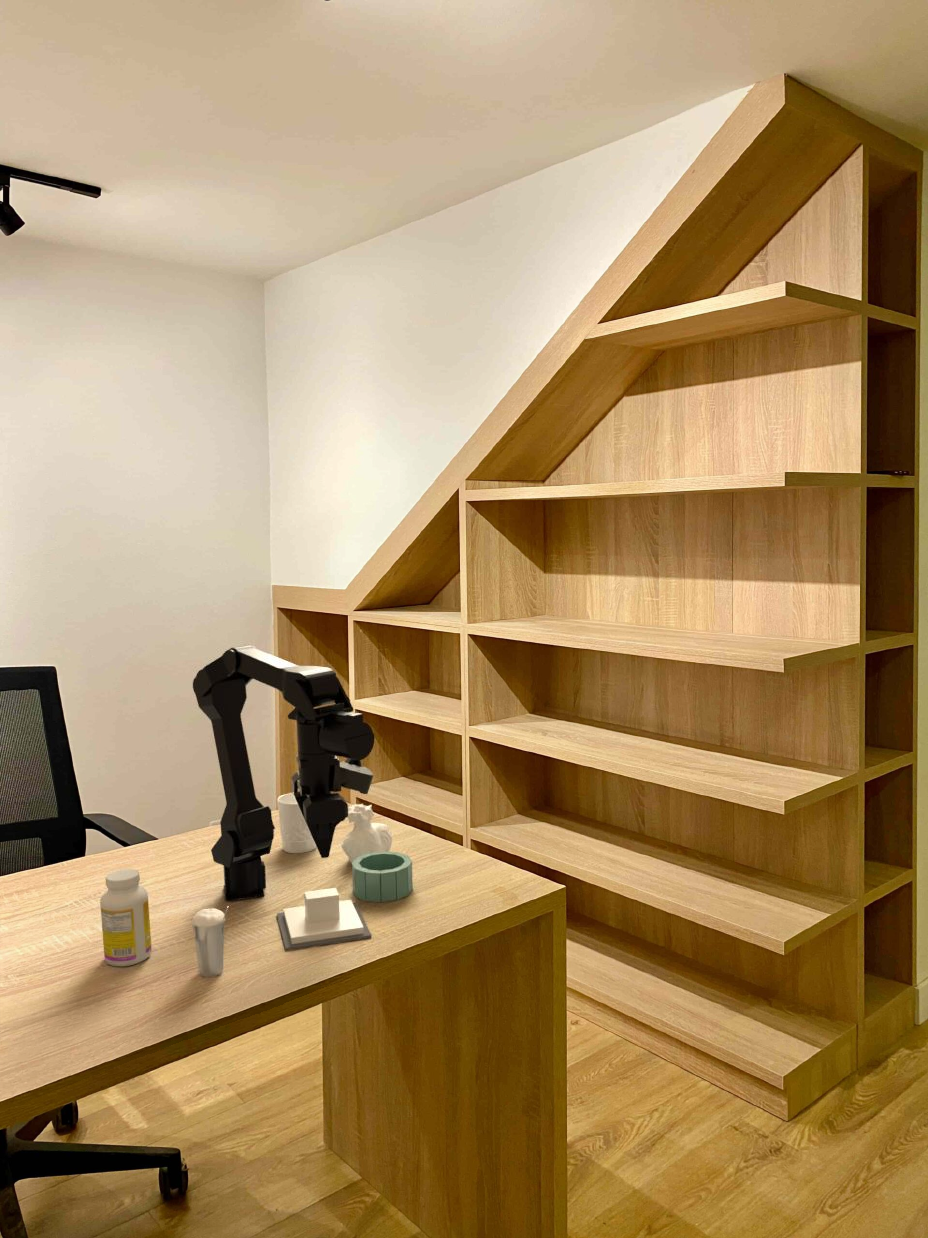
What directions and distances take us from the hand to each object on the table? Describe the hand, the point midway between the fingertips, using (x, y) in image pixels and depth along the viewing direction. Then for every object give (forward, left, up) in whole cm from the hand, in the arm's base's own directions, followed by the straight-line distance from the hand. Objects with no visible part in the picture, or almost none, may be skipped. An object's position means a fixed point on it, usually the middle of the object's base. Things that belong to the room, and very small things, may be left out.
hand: (320, 847), depth 148 cm
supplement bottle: (-29, -1, -13) cm, 32 cm away
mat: (0, 0, -13) cm, 13 cm away
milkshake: (-17, -10, -13) cm, 24 cm away
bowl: (+12, +11, -13) cm, 21 cm away
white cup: (+1, +37, -13) cm, 39 cm away
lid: (0, 0, -12) cm, 13 cm away
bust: (+12, +27, -13) cm, 32 cm away
